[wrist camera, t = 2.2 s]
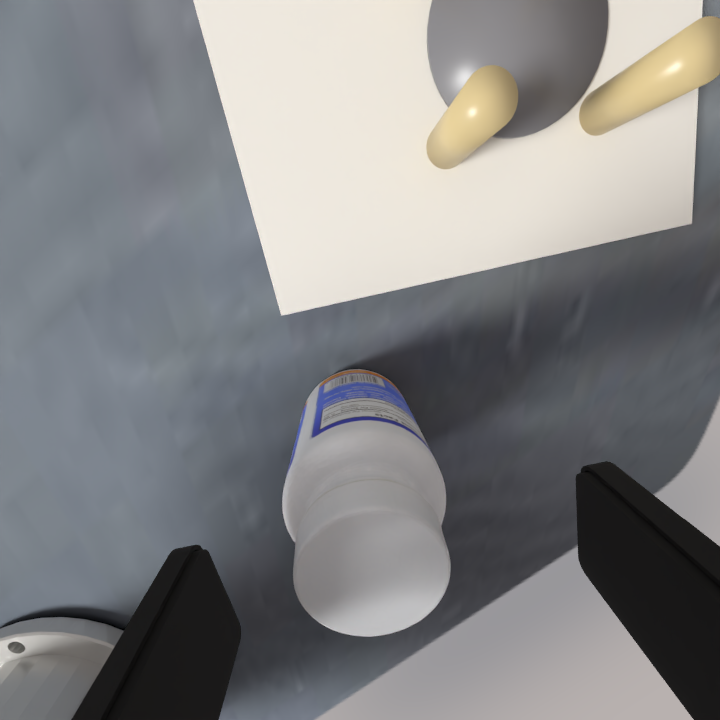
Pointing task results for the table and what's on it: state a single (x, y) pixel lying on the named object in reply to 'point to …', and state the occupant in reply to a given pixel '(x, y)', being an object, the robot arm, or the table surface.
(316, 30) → the plate
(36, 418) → the table surface
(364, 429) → the pill bottle
